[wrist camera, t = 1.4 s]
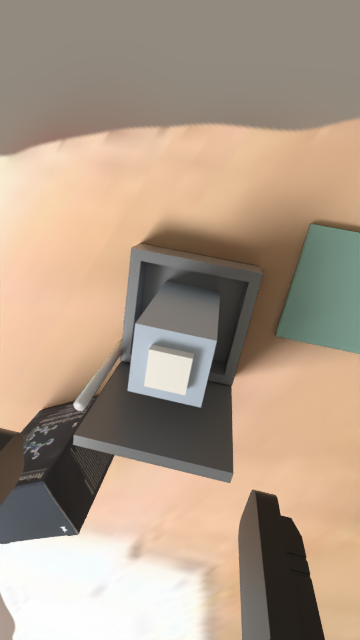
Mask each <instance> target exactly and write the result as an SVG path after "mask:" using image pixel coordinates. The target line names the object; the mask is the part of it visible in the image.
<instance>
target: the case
mask: <svg viewBox="0 0 360 640" xmlns="http://www.w3.org/2000/svg"><path fill="white" fill-rule="evenodd" d="M262 277H263V272H262V270H261V268H260V266H256V265H251V264H246V263H241V262H235V261H230V260H225V259H220V258H215V257H210V256H205V255H199V254H194V253H189V252H184V251H179V250H174V249H169V248H163V247H158V246H153V245H148V244H143V243H140V244H138V245H136V246H134V247H132V248H131V257H130V267H129V277H128V287H127V297H126V307H125V317H124V327H123V337H122V340H121V341H119V343H118V344H117V345H116V347H115V348H114V349H113V351H112V352H111V353H110V355H109V356H108V357H107V359H106V360H105V361H104V363H103V364H102V366H101V367H100V368H99V370H98V371H97V372H96V374H95V375H94V376H93V378H92V379H91V380H90V382H89V383H88V384H87V386H86V387H85V388H84V390H83V391H82V392H81V394H80V395H79V397H78V398H77V399H76V401H75V402H74V404H73V406H74V408H75V409H76V410H78V411H83V410H84V409H85V408H86V406H87V405H88V403H89V402H90V400H91V399H92V397H93V396H94V394H95V393H96V391H97V390H98V388H99V387H100V385H101V384H102V382H103V381H104V379H105V378H106V376H107V375H108V373H109V372H110V370H111V369H112V367H113V366H114V364H115V363H116V361H117V360H118V358H119V357H120V355H121V357H120V361H121V362H120V363H119V365H118V367H117V368H116V370H115V371H114V373H113V374H112V376H111V377H110V379H109V381H108V382H107V384H106V385H105V387H104V388H103V390H102V391H101V393H100V395H99V396H98V398H97V399H96V401H95V402H94V404H93V405H92V407H91V409H90V410H89V412H88V413H87V415H86V416H85V418H84V419H83V421H82V423H81V424H80V426H79V427H78V429H77V430H76V432H75V433H74V439H73V445H76V446H80V447H84V448H88V449H93V450H97V451H101V452H105V453H109V454H113V455H117V456H121V457H125V458H129V459H134V460H138V461H142V462H146V463H150V464H154V465H158V466H162V467H166V468H170V469H174V470H179V471H183V472H187V473H191V474H195V475H199V476H203V477H207V478H211V479H215V480H219V481H224V482H228V483H230V482H231V479H232V476H233V439H232V395H231V386H232V384H233V380H234V376H235V373H236V369H237V366H238V362H239V359H240V355H241V351H242V348H243V344H244V341H245V337H246V334H247V330H248V327H249V323H250V319H251V316H252V312H253V309H254V305H255V302H256V298H257V294H258V291H259V287H260V284H261V280H262ZM166 281H168V282H173V283H178V284H183V285H188V286H193V287H198V288H203V289H208V290H213V291H218V292H220V304H219V319H218V333H217V343H216V347H215V351H214V355H213V359H212V364H211V368H210V372H209V376H208V380H207V384H206V389H205V393H204V397H203V401H202V405H201V408H200V407H196V406H192V405H187V404H183V403H178V402H174V401H170V400H165V399H161V398H157V397H152V396H148V395H143V394H139V393H135V392H130V391H128V382H129V374H130V365H131V356H132V348H133V339H134V331H135V323H136V322H137V320H138V319H139V318H140V316H141V315H142V314H143V312H144V311H145V309H146V308H147V307H148V305H149V304H150V302H151V301H152V300H153V298H154V297H155V296H156V294H157V293H158V291H159V290H160V289H161V287H162V286H163V284H164V283H165V282H166Z"/></svg>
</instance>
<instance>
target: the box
mask: <svg viewBox="0 0 360 640" xmlns="http://www.w3.org/2000/svg"><path fill="white" fill-rule="evenodd" d="M98 396H99V395H98ZM98 396H95V397H92V399H91V400H90V402H89V403H88V405H87V406H86V408H85V409H84V410H83V411H78V410H76V409H75V408H74V406H73V404H74V402H72V403H68V404H64V405H60V406H56V407H53V408H48V409H44V410H41V411H39V413H38V414H37V415H36V416H35V417H34V418H33V419H32V420H31V422H30V423H29V424H28V425H27V426H26V427H25V428H24V429H23V431H22V432H21V434H22V435H23V448H24V469H23V472H22V475H21V477H20V479H19V481H18V483H17V484H16V485H15V487H14V488H13V490H12V491H11V492H10V494H9V495H8V497H7V498H6V499H5V501H4V502H3V503H2V505H1V506H0V544H8V543H10V542H16V541H24V540H32V539H40V538H48V537H57V536H66V535H68V536H71V535H78V534H79V532H80V530H81V527H82V525H83V523H84V521H85V519H86V517H87V514H88V512H89V510H90V508H91V505H92V504H93V501H94V499H95V497H96V495H97V493H98V490H99V488H100V486H101V484H102V482H103V479H104V477H105V475H106V473H107V471H108V468H109V466H110V464H111V462H112V460H113V457H114V455H113V454H109V453H105V452H101V451H97V450H93V449H88V448H84V447H80V446H76V445H73V439H74V433H75V432H76V430H77V429H78V427H79V426H80V424H81V423H82V421H83V419H84V418H85V416H86V415H87V413H88V412H89V410H90V409H91V407H92V405H93V404H94V402H95V401H96V399H97V398H98Z"/></svg>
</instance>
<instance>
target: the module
mask: <svg viewBox="0 0 360 640" xmlns="http://www.w3.org/2000/svg"><path fill="white" fill-rule="evenodd" d="M219 304H220V292H218V291H213V290H208V289H203V288H198V287H193V286H188V285H183V284H178V283H173V282H168V281H166V282H165V283H164V284H163V286H162V287H161V289H160V290H159V291H158V293H157V294H156V296H155V297H154V298H153V300H152V301H151V302H150V304H149V305H148V307H147V308H146V309H145V311H144V312H143V314H142V315H141V316H140V318H139V319H138V320H137V322H136V323H135V331H134V339H133V348H132V356H131V365H130V374H129V382H128V391H130V392H135V393H139V394H143V395H148V396H152V397H157V398H161V399H165V400H170V401H174V402H178V403H183V404H187V405H192V406H196V407H200V408H201V405H202V401H203V397H204V393H205V389H206V384H207V380H208V376H209V372H210V368H211V364H212V359H213V355H214V351H215V347H216V343H217V333H218V319H219Z"/></svg>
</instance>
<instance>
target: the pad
mask: <svg viewBox="0 0 360 640" xmlns="http://www.w3.org/2000/svg"><path fill="white" fill-rule="evenodd" d="M275 335H276V337H281V338H286V339H291V340H296V341H300V342H305V343H310V344H315V345H320V346H324V347H329V348H334V349H339V350H343V351H348V352H353V353H358V354H360V233H359V232H354V231H348V230H343V229H337V228H332V227H326V226H321V225H315V224H310V227H309V230H308V233H307V236H306V239H305V242H304V245H303V248H302V251H301V255H300V258H299V261H298V264H297V267H296V270H295V273H294V276H293V279H292V282H291V286H290V289H289V292H288V295H287V298H286V301H285V304H284V307H283V310H282V314H281V317H280V320H279V323H278V326H277V329H276V332H275Z"/></svg>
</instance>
